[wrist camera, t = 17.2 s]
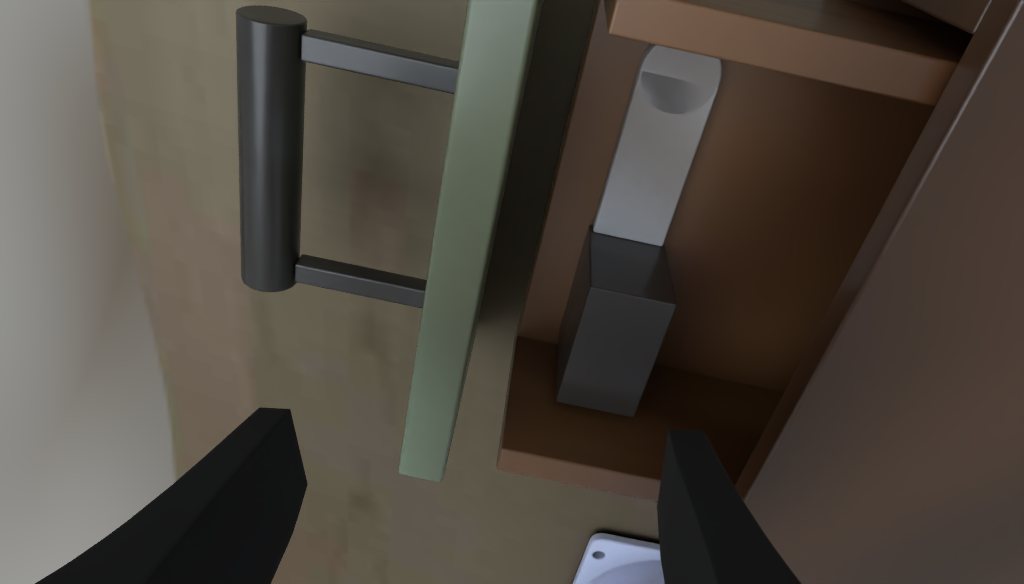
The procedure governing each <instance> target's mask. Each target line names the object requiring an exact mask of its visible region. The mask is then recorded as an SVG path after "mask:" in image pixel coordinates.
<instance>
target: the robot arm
mask: <svg viewBox="0 0 1024 584" xmlns="http://www.w3.org/2000/svg"><path fill="white" fill-rule="evenodd" d="M306 487H307V480H306V476H305V471H304V467H303V463H302V458H301V454H300V450H299V445H298V441H297V437H296V432H295V428H294V424H293V420H292V415H291V411H290V409H276V408H259V409H258V410H256V411H255V412H254V413H253V414H252V415H251V416H249V417H248V418H247V419H246V420H245V421H244V422H243V423H242V424H241V425H239V426H238V427H237V428H236V429H235V430H234V431H233V432H232V433H230V434H229V435H228V436H227V437H226V438H225V439H224V440H223V441H222V442H221V443H219V444H218V445H217V446H216V447H215V448H214V449H213V450H212V451H210V452H209V453H208V454H207V455H206V456H205V457H204V458H203V459H202V460H200V461H199V462H198V463H197V464H196V465H195V466H193V467H192V468H191V469H190V470H189V471H188V472H187V473H185V474H184V475H183V476H182V477H181V478H180V479H179V480H177V481H176V482H175V483H174V484H173V485H172V486H170V487H169V488H168V489H167V490H166V491H164V492H163V493H162V494H160V495H159V496H158V497H157V498H156V499H154V500H153V501H152V502H151V503H149V504H148V505H147V506H146V507H144V508H143V509H142V510H141V511H139V512H138V513H137V514H136V515H134V516H133V517H132V518H131V519H129V520H128V521H127V522H126V523H124V524H123V525H121V526H120V527H119V528H117V529H116V530H115V531H113V532H112V533H111V534H109V535H108V536H107V537H105V538H104V539H103V540H101V541H100V542H98V543H97V544H95V545H94V546H92V547H91V548H89V549H88V550H87V551H85V552H84V553H82V554H81V555H79V556H78V557H76V558H75V559H73V560H72V561H71V562H69V563H67V564H66V565H64V566H63V567H61V568H60V569H58V570H57V571H55V572H53V573H52V574H50V575H48V576H47V577H45V578H43V579H42V580H40V581H39V582H37V583H35V584H271V581H272V579H273V577H274V575H275V573H276V570H277V568H278V566H279V563H280V561H281V559H282V557H283V554H284V552H285V550H286V548H287V545H288V543H289V541H290V538H291V536H292V534H293V531H294V527H295V524H296V521H297V518H298V515H299V512H300V508H301V505H302V501H303V498H304V494H305V491H306ZM657 511H658V529H659V544H656V543H651V542H646V541H641V540H636V539H631V538H626V537H621V536H616V535H611V534H606V533H597V534H595V535H593V536H592V537H591V538H590V540H589V543H588V545H587V548H586V550H585V553H584V556H583V558H582V561H581V563H580V566H579V568H578V571H577V574H576V576H575V579H574V581H573V584H802V583H801V582H800V581H799V580H798V578H797V577H796V576H795V574H794V573H793V572H792V571H791V569H790V568H789V566H788V565H787V564H786V562H785V561H784V560H783V558H782V557H781V556H780V554H779V553H778V552H777V550H776V549H775V547H774V546H773V545H772V543H771V542H770V540H769V539H768V537H767V536H766V535H765V533H764V532H763V530H762V529H761V527H760V526H759V524H758V523H757V521H756V520H755V518H754V517H753V515H752V513H751V512H750V510H749V509H748V507H747V506H746V504H745V503H744V501H743V500H742V498H741V496H740V495H739V493H738V491H737V490H736V488H735V486H734V485H733V483H732V481H731V480H730V478H729V476H728V475H727V473H726V471H725V469H724V468H723V466H722V464H721V462H720V460H719V458H718V457H717V455H716V453H715V451H714V449H713V447H712V445H711V443H710V441H709V439H708V437H707V436H706V435H705V434H704V433H703V432H702V431H692V430H673V429H668V435H667V442H666V449H665V456H664V463H663V469H662V476H661V483H660V490H659V496H658V503H657Z"/></svg>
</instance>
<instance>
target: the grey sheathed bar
mask: <svg viewBox="0 0 1024 584" xmlns="http://www.w3.org/2000/svg"><path fill="white" fill-rule="evenodd" d="M721 79H722V63H721V59H717V58H712V57H708V56H703V55H699V54H694V53H690V52H685V51H681V50H676V49H672V48H667V47H663V46H658V45H654V44H650V45H649V46H648V48H647V49H646V50H645V52H644V53H643V55H642V57H641V60H640V62H639V66H638V69H637V73H636V76H635V80H634V83H633V87H632V90H631V94H630V97H629V101H628V104H627V108H626V111H625V114H624V118H623V121H622V125H621V128H620V132H619V135H618V139H617V142H616V146H615V149H614V153H613V156H612V160H611V163H610V167H609V170H608V174H607V177H606V181H605V184H604V188H603V191H602V195H601V198H600V202H599V205H598V208H597V212H596V215H595V219H594V222H593V225H589V227H588V230H587V234H586V237H585V241H584V245H583V248H582V252H581V255H580V259H579V262H578V266H577V269H576V273H575V276H574V280H573V283H572V287H571V290H570V294H569V297H568V301H567V304H566V308H565V311H564V315H563V318H562V322H561V325H560V329H559V345H558V364H557V384H556V401H557V402H561V403H565V404H570V405H575V406H580V407H585V408H590V409H594V410H599V411H604V412H609V413H614V414H619V415H623V416H628V417H634V416H635V413H636V410H637V408H638V405H639V403H640V400H641V397H642V395H643V392H644V390H645V387H646V385H647V382H648V379H649V377H650V374H651V372H652V369H653V367H654V364H655V361H656V359H657V356H658V354H659V351H660V349H661V346H662V343H663V341H664V338H665V336H666V333H667V330H668V328H669V325H670V323H671V320H672V318H673V315H674V312H675V310H676V307H677V302H676V297H675V292H674V288H673V283H672V278H671V273H670V268H669V263H668V258H667V253H666V249H665V244H664V241H665V238H666V235H667V233H668V230H669V227H670V224H671V221H672V219H673V216H674V213H675V210H676V207H677V204H678V202H679V199H680V196H681V193H682V190H683V188H684V185H685V182H686V179H687V176H688V173H689V171H690V168H691V165H692V162H693V159H694V156H695V154H696V151H697V148H698V145H699V142H700V140H701V137H702V134H703V131H704V128H705V125H706V123H707V120H708V117H709V114H710V111H711V109H712V106H713V103H714V100H715V97H716V94H717V92H718V89H719V86H720V83H721Z"/></svg>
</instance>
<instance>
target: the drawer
mask: <svg viewBox="0 0 1024 584" xmlns="http://www.w3.org/2000/svg"><path fill="white" fill-rule="evenodd" d="M542 3H543V0H468V6H467V13H466V20H465V26H464V33H463V40H462V47H461V53H460V60H459V62H458V61H454V60H449V59H445V58H440V57H435V56H431V55H426V54H422V53H417V52H413V51H408V50H403V49H399V48H394V47H390V46H385V45H381V44H376V43H372V42H367V41H362V40H358V39H353V38H349V37H344V36H340V35H335V34H330V33H326V32H321V31H317V30H312V29H310V30H308V31H307V20H306V18H305V17H304V16H303V15H301V14H299V13H296V12H294V11H291V10H287V9H283V8H277V7H270V6H245V7H241V8H239V9H237V11H236V42H237V90H238V138H239V186H240V234H241V277H242V280H243V282H244V283H245V284H246V285H247V286H249V287H250V288H252V289H255V290H258V291H263V292H278V291H283V290H287V289H289V288H291V287H293V286H294V285H295V284H296V283H297V282H298V283H303V284H308V285H313V286H318V287H322V288H327V289H332V290H337V291H342V292H346V293H351V294H356V295H361V296H366V297H370V298H375V299H380V300H385V301H390V302H394V303H399V304H404V305H409V306H414V307H418V308H423V309H422V316H421V323H420V329H419V336H418V343H417V349H416V356H415V363H414V370H413V376H412V383H411V390H410V397H409V403H408V410H407V417H406V424H405V430H404V437H403V444H402V450H401V457H400V464H399V474H401V475H406V476H411V477H416V478H421V479H426V480H431V481H436V482H441V481H442V480H443V477H444V473H445V468H446V464H447V459H448V455H449V451H450V446H451V442H452V437H453V433H454V428H455V424H456V419H457V415H458V410H459V406H460V401H461V397H462V392H463V388H464V384H465V379H466V375H467V370H468V366H469V361H470V357H471V352H472V348H473V343H474V338H475V334H476V329H477V324H478V319H479V314H480V309H481V304H482V299H483V294H484V289H485V284H486V279H487V274H488V270H489V265H490V260H491V255H492V250H493V245H494V240H495V235H496V230H497V225H498V220H499V215H500V210H501V205H502V201H503V196H504V191H505V186H506V181H507V176H508V171H509V166H510V161H511V156H512V151H513V146H514V141H515V136H516V132H517V127H518V122H519V117H520V112H521V107H522V102H523V97H524V92H525V87H526V82H527V77H528V72H529V68H530V63H531V58H532V53H533V48H534V43H535V38H536V33H537V28H538V23H539V18H540V13H541V8H542ZM972 37H973V35H972V34H970V33H968V32H966V31H963V30H961V29H959V28H957V27H955V26H953V25H949V24H944V23H940V22H935V21H931V20H927V19H922V18H918V17H913V16H909V15H904V14H900V13H895V12H891V11H887V10H882V9H878V8H873V7H869V6H864V5H860V4H855V3H851V2H847V1H842V0H596V4H595V8H594V12H593V17H592V21H591V25H590V29H589V33H588V37H587V41H586V45H585V50H584V54H583V58H582V62H581V66H580V70H579V74H578V79H577V83H576V87H575V91H574V95H573V99H572V103H571V108H570V112H569V116H568V120H567V124H566V128H565V132H564V136H563V141H562V145H561V149H560V153H559V157H558V161H557V165H556V170H555V174H554V178H553V182H552V186H551V190H550V194H549V199H548V203H547V207H546V211H545V215H544V219H543V223H542V227H541V232H540V236H539V240H538V244H537V248H536V252H535V256H534V261H533V265H532V269H531V273H530V277H529V281H528V285H527V290H526V294H525V298H524V302H523V306H522V310H521V314H520V318H519V323H518V327H517V331H516V335H515V339H514V346H513V353H512V360H511V367H510V374H509V381H508V388H507V395H506V402H505V409H504V416H503V423H502V430H501V437H500V444H499V451H498V458H497V465H496V467H497V469H498V470H502V471H507V472H512V473H517V474H522V475H527V476H532V477H537V478H542V479H547V480H551V481H556V482H561V483H566V484H571V485H576V486H581V487H586V488H591V489H596V490H601V491H606V492H611V493H616V494H621V495H626V496H631V497H636V498H640V499H645V500H650V501H655V502H658V496H659V490H660V483H661V476H662V469H663V463H664V456H665V449H666V442H667V435H668V429H673V430H692V431H702V432H703V433H704V434H705V435H706V436H707V437H708V439H709V441H710V443H711V445H712V447H713V449H714V451H715V453H716V455H717V457H718V458H719V460H720V462H721V464H722V466H723V468H724V469H725V471H726V473H727V475H728V476H729V478H730V480H731V481H732V483H733V485H734V486H735V484H736V483H737V481H738V479H739V477H740V475H741V473H742V471H743V469H744V467H745V466H746V464H747V462H748V460H749V458H750V456H751V454H752V452H753V450H754V449H755V447H756V445H757V443H758V441H759V439H760V437H761V435H762V433H763V432H764V430H765V428H766V426H767V424H768V422H769V420H770V418H771V416H772V415H773V413H774V411H775V409H776V407H777V405H778V403H779V401H780V399H781V398H782V396H783V394H784V392H785V390H786V388H787V386H788V384H789V382H790V381H791V379H792V377H793V375H794V373H795V371H796V369H797V367H798V365H799V364H800V362H801V360H802V358H803V356H804V354H805V352H806V350H807V349H808V347H809V345H810V343H811V341H812V339H813V337H814V335H815V333H816V332H817V330H818V328H819V326H820V324H821V322H822V320H823V318H824V316H825V315H826V313H827V311H828V309H829V307H830V305H831V303H832V301H833V299H834V298H835V296H836V294H837V292H838V290H839V288H840V286H841V284H842V282H843V281H844V279H845V277H846V275H847V273H848V271H849V269H850V267H851V265H852V264H853V262H854V260H855V258H856V256H857V254H858V252H859V250H860V248H861V247H862V245H863V243H864V241H865V239H866V237H867V235H868V233H869V231H870V230H871V228H872V226H873V224H874V222H875V220H876V218H877V216H878V214H879V213H880V211H881V209H882V207H883V205H884V203H885V201H886V199H887V197H888V196H889V194H890V192H891V190H892V188H893V186H894V184H895V182H896V180H897V179H898V177H899V175H900V173H901V171H902V169H903V167H904V165H905V163H906V162H907V160H908V158H909V156H910V154H911V152H912V150H913V148H914V146H915V145H916V143H917V141H918V139H919V137H920V135H921V133H922V131H923V129H924V128H925V126H926V124H927V122H928V120H929V118H930V116H931V114H932V113H933V111H934V109H935V107H936V105H937V103H938V101H939V99H940V97H941V96H942V94H943V92H944V90H945V88H946V86H947V84H948V82H949V80H950V79H951V77H952V75H953V73H954V71H955V69H956V67H957V65H958V63H959V62H960V60H961V58H962V56H963V54H964V52H965V50H966V48H967V46H968V45H969V43H970V41H971V39H972ZM650 44H654V45H658V46H663V47H667V48H672V49H676V50H681V51H685V52H690V53H694V54H699V55H703V56H708V57H712V58H717V59H721V63H722V79H721V83H720V86H719V89H718V92H717V94H716V97H715V100H714V103H713V106H712V109H711V111H710V114H709V117H708V120H707V123H706V125H705V128H704V131H703V134H702V137H701V140H700V142H699V145H698V148H697V151H696V154H695V156H694V159H693V162H692V165H691V168H690V171H689V173H688V176H687V179H686V182H685V185H684V188H683V190H682V193H681V196H680V199H679V202H678V204H677V207H676V210H675V213H674V216H673V219H672V221H671V224H670V227H669V230H668V233H667V235H666V238H665V241H664V244H665V249H666V253H667V258H668V263H669V268H670V273H671V278H672V283H673V288H674V292H675V297H676V302H677V307H676V310H675V312H674V315H673V318H672V320H671V323H670V325H669V328H668V330H667V333H666V336H665V338H664V341H663V343H662V346H661V349H660V351H659V354H658V356H657V359H656V361H655V364H654V367H653V369H652V372H651V374H650V377H649V379H648V382H647V385H646V387H645V390H644V392H643V395H642V397H641V400H640V403H639V405H638V408H637V410H636V413H635V416H634V417H628V416H623V415H619V414H614V413H609V412H604V411H599V410H594V409H590V408H585V407H580V406H575V405H570V404H565V403H561V402H557V401H556V384H557V364H558V345H559V329H560V325H561V322H562V318H563V315H564V311H565V308H566V304H567V301H568V297H569V294H570V290H571V287H572V283H573V280H574V276H575V273H576V269H577V266H578V262H579V259H580V255H581V252H582V248H583V245H584V241H585V237H586V234H587V230H588V227H589V225H593V222H594V219H595V215H596V212H597V208H598V205H599V202H600V198H601V195H602V191H603V188H604V184H605V181H606V177H607V174H608V170H609V167H610V163H611V160H612V156H613V153H614V149H615V146H616V142H617V139H618V135H619V132H620V128H621V125H622V121H623V118H624V114H625V111H626V108H627V104H628V101H629V97H630V94H631V90H632V87H633V83H634V80H635V76H636V73H637V69H638V66H639V62H640V60H641V57H642V55H643V53H644V52H645V50H646V49H647V48H648V46H649V45H650ZM306 62H309V63H314V64H319V65H323V66H328V67H332V68H337V69H342V70H346V71H351V72H355V73H360V74H365V75H369V76H374V77H378V78H383V79H388V80H392V81H397V82H401V83H406V84H411V85H415V86H420V87H424V88H429V89H434V90H438V91H443V92H447V93H452V94H454V100H453V107H452V114H451V121H450V127H449V134H448V141H447V148H446V154H445V161H444V168H443V174H442V181H441V188H440V195H439V201H438V208H437V215H436V222H435V228H434V235H433V242H432V248H431V255H430V262H429V269H428V275H427V280H424V279H419V278H414V277H409V276H404V275H400V274H395V273H390V272H385V271H381V270H376V269H371V268H366V267H362V266H357V265H352V264H347V263H342V262H338V261H333V260H328V259H323V258H319V257H314V256H309V255H301V257H300V230H301V198H302V167H303V135H304V103H305V72H306Z"/></svg>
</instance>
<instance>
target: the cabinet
mask: <svg viewBox="0 0 1024 584" xmlns="http://www.w3.org/2000/svg"><path fill="white" fill-rule="evenodd" d="M842 1H847V2H851V3H855V4H860V5H864V6H869V7H873V8H878V9H882V10H887V11H891V12H895V13H900V14H904V15H909V16H913V17H918V18H922V19H927V20H931V21H935V22H940V23H944V24H949V25H953V26H955V27H957V28H959V29H961V30H963V31H966V32H968V33H970V34H972V35H973V37H972V39H971V41H970V43H969V45H968V46H967V48H966V50H965V52H964V54H963V56H962V58H961V60H960V62H959V63H958V65H957V67H956V69H955V71H954V73H953V75H952V77H951V79H950V80H949V82H948V84H947V86H946V88H945V90H944V92H943V94H942V96H941V97H940V99H939V101H938V103H937V105H936V107H935V109H934V111H933V113H932V114H931V116H930V118H929V120H928V122H927V124H926V126H925V128H924V129H923V131H922V133H921V135H920V137H919V139H918V141H917V143H916V145H915V146H914V148H913V150H912V152H911V154H910V156H909V158H908V160H907V162H906V163H905V165H904V167H903V169H902V171H901V173H900V175H899V177H898V179H897V180H896V182H895V184H894V186H893V188H892V190H891V192H890V194H889V196H888V197H887V199H886V201H885V203H884V205H883V207H882V209H881V211H880V213H879V214H878V216H877V218H876V220H875V222H874V224H873V226H872V228H871V230H870V231H869V233H868V235H867V237H866V239H865V241H864V243H863V245H862V247H861V248H860V250H859V252H858V254H857V256H856V258H855V260H854V262H853V264H852V265H851V267H850V269H849V271H848V273H847V275H846V277H845V279H844V281H843V282H842V284H841V286H840V288H839V290H838V292H837V294H836V296H835V298H834V299H833V301H832V303H831V305H830V307H829V309H828V311H827V313H826V315H825V316H824V318H823V320H822V322H821V324H820V326H819V328H818V330H817V332H816V333H815V335H814V337H813V339H812V341H811V343H810V345H809V347H808V349H807V350H806V352H805V354H804V356H803V358H802V360H801V362H800V364H799V365H798V367H797V369H796V371H795V373H794V375H793V377H792V379H791V381H790V382H789V384H788V386H787V388H786V390H785V392H784V394H783V396H782V398H781V399H780V401H779V403H778V405H777V407H776V409H775V411H774V413H773V415H772V416H771V418H770V420H769V422H768V424H767V426H766V428H765V430H764V432H763V433H762V435H761V437H760V439H759V441H758V443H757V445H756V447H755V449H754V450H753V452H752V454H751V456H750V458H749V460H748V462H747V464H746V466H745V467H744V469H743V471H742V473H741V475H740V477H739V479H738V481H737V483H736V484H735V488H736V490H737V491H738V493H739V495H740V496H741V498H742V500H743V501H744V503H745V504H746V506H747V507H748V509H749V510H750V512H751V513H752V515H753V517H754V518H755V520H756V521H757V523H758V524H759V526H760V527H761V529H762V530H763V532H764V533H765V535H766V536H767V537H768V539H769V540H770V542H771V543H772V545H773V546H774V547H775V549H776V550H777V552H778V553H779V554H780V556H781V557H782V558H783V560H784V561H785V562H786V564H787V565H788V566H789V568H790V569H791V571H792V572H793V573H794V574H795V576H796V577H797V578H798V580H799V581H800V582H801V583H802V584H1024V0H842Z"/></svg>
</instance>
